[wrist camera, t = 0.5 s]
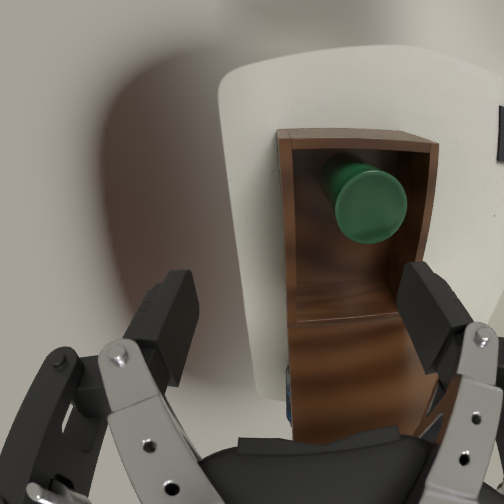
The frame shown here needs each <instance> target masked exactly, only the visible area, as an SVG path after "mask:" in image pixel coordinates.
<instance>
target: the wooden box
mask: <svg viewBox="0 0 504 504" xmlns="http://www.w3.org/2000/svg"><path fill="white" fill-rule="evenodd" d="M276 133H277V145H278V159H279V173H280V189H281V205H282V224H283V244H284V267H285V292H286V311H287V328H296V327H313V326H327V325H339V324H351V323H361V322H370V321H379V320H388V319H396V318H401V316H400V314H399V312H398V310H397V305H396V297H397V293H398V289H399V285H400V281H401V277H402V273H403V268H404V265H405V264H406V263H407V262H421V261H422V260H423V256H424V251H425V247H426V242H427V237H428V232H429V227H430V221H431V215H432V209H433V202H434V195H435V187H436V178H437V167H438V154H439V143H436V142H433V141H430V140H427V139H425V138H422V137H419V136H416V135H413V134H409V133H406V132H403V131H392V130H377V129H354V128H301V129H278V130H276ZM342 152H351V153H355V154H357V155H359V156H361V157H362V158H364V159H365V160H367V161H368V162H370V163H371V164H373V165H374V166H375V167H377V168H378V169H381V170H384V171H386V172H388V173H389V174H391V175H392V176H393V177H395V178H396V179H397V180H398V181H399V182H400V184H401V185H402V187H403V189H404V191H405V194H406V198H407V211H406V215H405V218H404V220H403V222H402V224H401V226H400V227H399V229H398V230H397V231H396V232H395V233H394V234H393V235H392V236H390V237H389V238H387V239H386V240H384V241H381V242H379V243H375V244H361V243H357V242H355V241H352V240H351V239H349V238H348V237H346V236H345V235H344V234H343V233H342V231H341V230H340V228H339V226H338V224H337V222H336V220H335V217H334V213H333V210H332V208H331V206H330V204H329V202H328V200H327V198H326V196H325V195H324V193H323V191H322V189H321V186H320V172H321V169H322V167H323V165H324V164H325V162H326V161H327V160H328V159H329V158H330V157H332V156H334V155H336V154H338V153H342Z"/></svg>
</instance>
